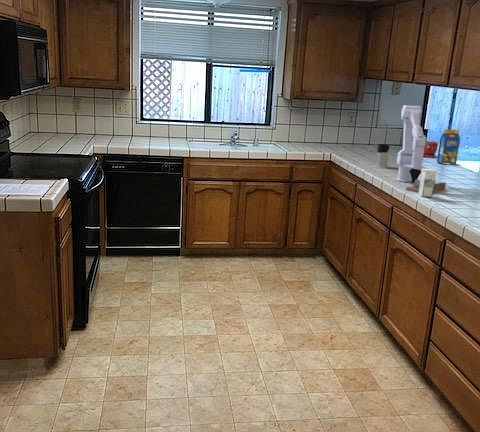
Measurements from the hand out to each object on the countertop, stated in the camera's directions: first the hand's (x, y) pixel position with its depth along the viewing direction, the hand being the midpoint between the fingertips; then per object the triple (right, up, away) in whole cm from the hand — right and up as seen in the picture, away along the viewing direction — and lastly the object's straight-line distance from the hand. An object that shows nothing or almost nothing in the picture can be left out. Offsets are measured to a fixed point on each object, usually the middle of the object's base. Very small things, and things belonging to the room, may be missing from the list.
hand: (413, 182), depth 293 cm
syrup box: (-1, -9, -20) cm, 22 cm away
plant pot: (+50, +28, +117) cm, 130 cm away
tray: (+4, -3, -5) cm, 7 cm away
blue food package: (+53, +19, +87) cm, 104 cm away
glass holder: (-5, +15, +61) cm, 63 cm away
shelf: (+5, -4, -5) cm, 8 cm away
